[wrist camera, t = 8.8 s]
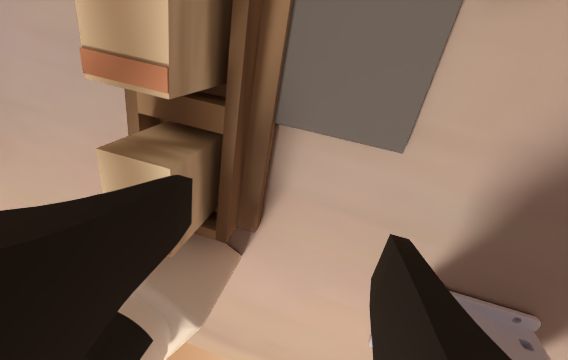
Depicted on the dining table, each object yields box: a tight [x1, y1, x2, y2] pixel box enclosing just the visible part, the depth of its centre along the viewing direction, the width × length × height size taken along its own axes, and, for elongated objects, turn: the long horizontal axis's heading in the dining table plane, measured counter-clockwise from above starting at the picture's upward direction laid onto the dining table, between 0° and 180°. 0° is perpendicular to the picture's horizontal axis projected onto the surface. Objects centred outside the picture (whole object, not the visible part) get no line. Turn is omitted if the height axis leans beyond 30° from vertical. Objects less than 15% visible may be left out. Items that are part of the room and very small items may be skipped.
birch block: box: [75, 0, 233, 99], centre depth 13 cm, size 4×6×6 cm
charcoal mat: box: [274, 0, 462, 154], centre depth 16 cm, size 8×9×1 cm
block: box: [96, 121, 223, 258], centre depth 17 cm, size 4×6×6 cm
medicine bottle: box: [82, 234, 241, 360], centre depth 20 cm, size 7×7×12 cm
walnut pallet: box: [125, 0, 293, 243], centre depth 18 cm, size 10×17×3 cm, turn 171°
